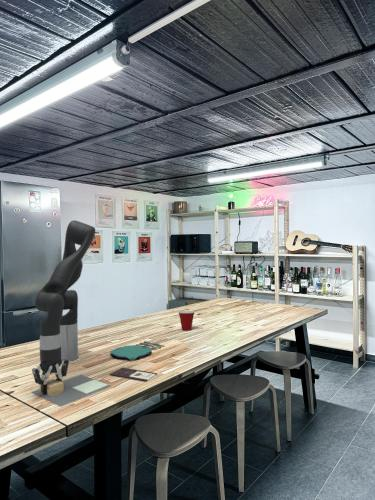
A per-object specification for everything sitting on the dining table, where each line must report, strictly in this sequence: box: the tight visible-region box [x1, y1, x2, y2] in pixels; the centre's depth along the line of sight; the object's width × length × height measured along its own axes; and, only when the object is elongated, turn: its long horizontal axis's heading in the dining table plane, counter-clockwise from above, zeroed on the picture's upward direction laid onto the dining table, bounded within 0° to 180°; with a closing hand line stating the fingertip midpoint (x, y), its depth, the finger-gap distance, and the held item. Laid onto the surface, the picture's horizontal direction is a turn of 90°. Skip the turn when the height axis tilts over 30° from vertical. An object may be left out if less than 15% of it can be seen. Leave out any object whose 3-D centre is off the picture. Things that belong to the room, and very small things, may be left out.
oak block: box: [39, 377, 64, 397], centre depth 134 cm, size 8×5×4 cm, turn 51°
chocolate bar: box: [109, 367, 158, 383], centre depth 152 cm, size 9×1×18 cm
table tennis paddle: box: [109, 340, 166, 362], centre depth 184 cm, size 20×30×2 cm, turn 146°
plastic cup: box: [177, 310, 196, 332], centre depth 229 cm, size 11×11×12 cm
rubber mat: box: [30, 374, 112, 408], centre depth 137 cm, size 20×22×1 cm
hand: (51, 391), depth 134 cm, fingers closed on oak block, 5 cm apart
